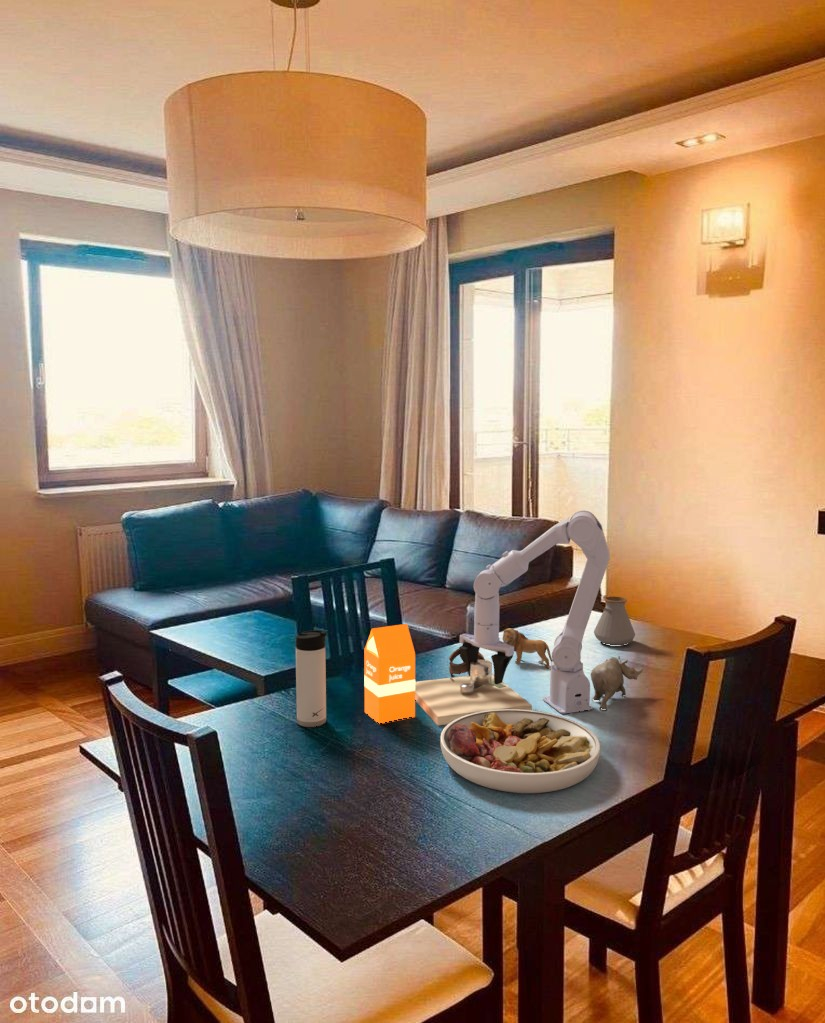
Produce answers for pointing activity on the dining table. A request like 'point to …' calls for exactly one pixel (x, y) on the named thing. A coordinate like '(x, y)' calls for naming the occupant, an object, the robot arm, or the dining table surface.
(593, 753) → the bowl
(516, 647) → the lion figurine
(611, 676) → the rhino figurine
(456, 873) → the dining table surface
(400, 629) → the orange juice
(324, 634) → the travel mug
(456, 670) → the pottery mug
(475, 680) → the beige shiny cylinders
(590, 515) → the robot arm
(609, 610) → the coffee pot
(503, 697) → the wooden board
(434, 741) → the dining table surface
